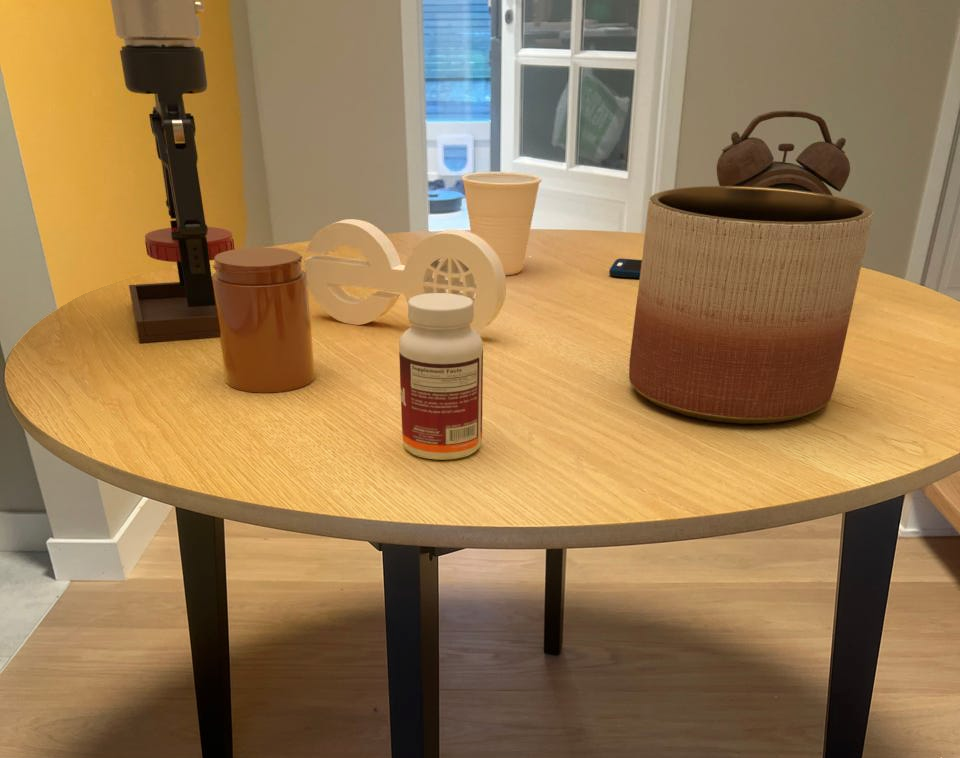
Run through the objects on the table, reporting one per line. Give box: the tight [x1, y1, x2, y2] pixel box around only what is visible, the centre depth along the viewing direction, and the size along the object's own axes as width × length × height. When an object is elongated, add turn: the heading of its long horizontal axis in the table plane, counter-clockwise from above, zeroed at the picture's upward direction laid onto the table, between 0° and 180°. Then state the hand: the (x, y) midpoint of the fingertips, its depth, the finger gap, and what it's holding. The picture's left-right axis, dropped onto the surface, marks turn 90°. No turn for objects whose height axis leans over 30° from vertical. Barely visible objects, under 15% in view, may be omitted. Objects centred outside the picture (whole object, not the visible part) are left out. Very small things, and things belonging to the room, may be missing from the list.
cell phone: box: [608, 257, 642, 279], centre depth 121 cm, size 7×14×1 cm, turn 75°
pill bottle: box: [398, 292, 484, 461], centre depth 70 cm, size 6×6×11 cm
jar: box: [211, 247, 316, 394], centre depth 83 cm, size 8×8×10 cm
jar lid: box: [144, 226, 236, 263], centre depth 98 cm, size 9×9×2 cm
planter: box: [628, 185, 874, 425], centre depth 80 cm, size 18×18×16 cm
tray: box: [128, 281, 220, 344], centre depth 101 cm, size 13×15×2 cm
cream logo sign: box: [304, 218, 507, 333], centre depth 97 cm, size 22×2×10 cm, turn 67°
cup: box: [461, 171, 543, 276], centre depth 119 cm, size 10×10×11 cm
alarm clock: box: [716, 110, 851, 196], centre depth 103 cm, size 15×7×20 cm, turn 92°
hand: (197, 294), depth 100 cm, fingers closed on jar lid, 9 cm apart
